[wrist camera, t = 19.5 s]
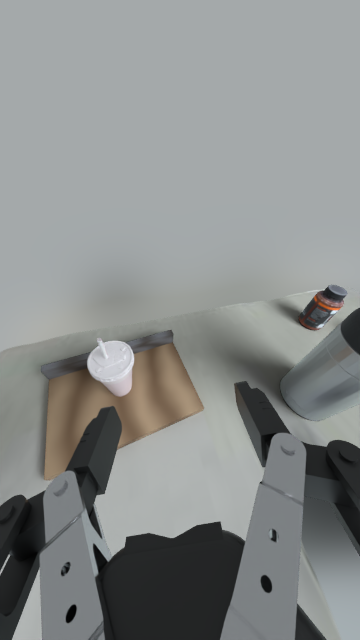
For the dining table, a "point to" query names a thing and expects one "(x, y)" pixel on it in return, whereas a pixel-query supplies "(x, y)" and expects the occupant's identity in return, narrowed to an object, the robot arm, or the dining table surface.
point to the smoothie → (112, 365)
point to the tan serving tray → (116, 398)
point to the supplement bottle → (323, 307)
